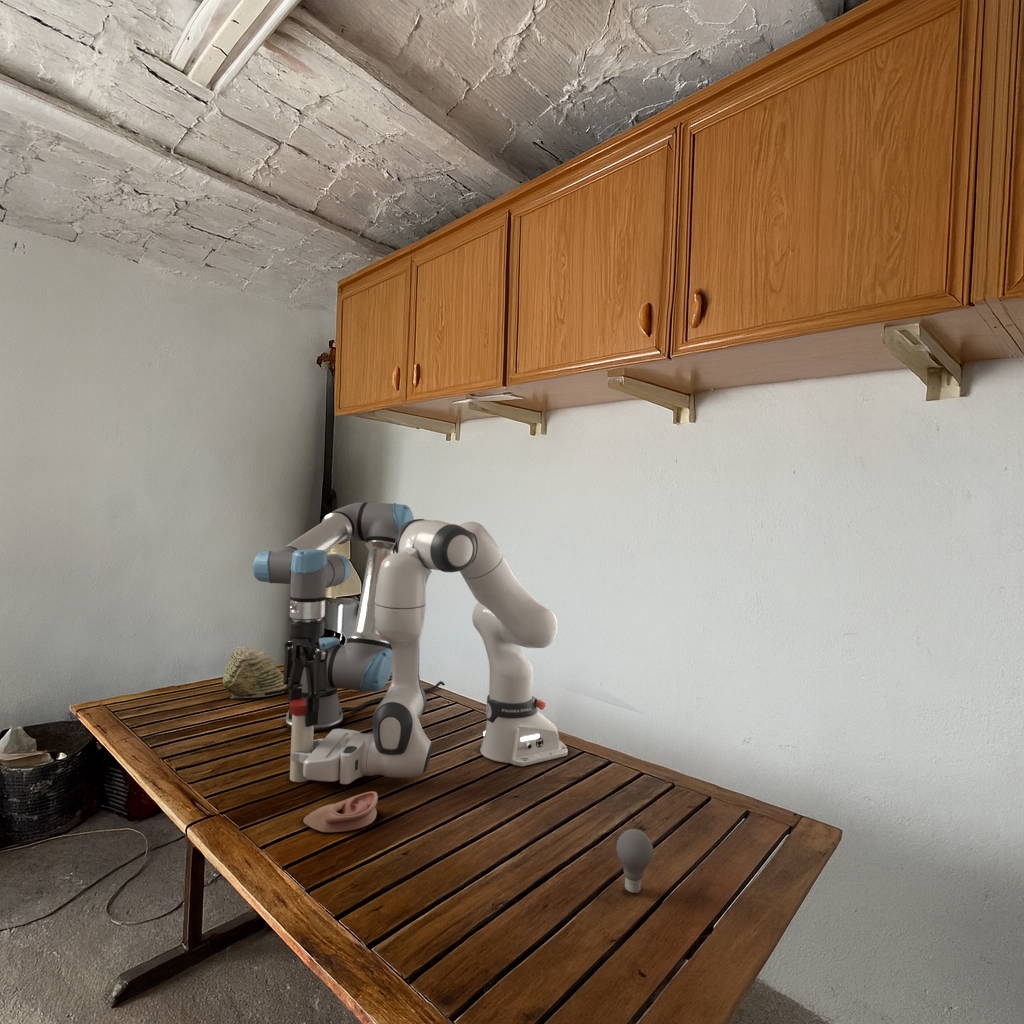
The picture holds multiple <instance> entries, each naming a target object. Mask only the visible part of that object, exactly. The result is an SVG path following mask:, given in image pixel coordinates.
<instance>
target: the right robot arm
mask: <svg viewBox="0 0 1024 1024" xmlns="http://www.w3.org/2000/svg"><path fill="white" fill-rule="evenodd" d="M395 552H396V553H395ZM432 570H435V571H440V572H443V573H457V572H460V574H461V576H462V579H463V580H464V581H465V583H466V585H467V587H468V589H469V591H470V592H471V594H472V595H473V597H474V599H475V600H476V601H477V603H476V604H475V606H474V607H473V611H472V616H471V619H472V624H473V627H474V628H475V630H476V631H477V633H478V634H479V635H480V637H481V639H482V642H483V644H484V645H483V646H484V648H485V652H486V655H487V660H488V670H489V672H488V673H489V675H488V676H489V679H488V680H489V681H488V682H489V683H488V694H487V697H486V705H485V714H486V724H485V730H484V731H483V739H482V742H481V746H480V748H479V752H480V754H481V755H482V756H483V757H485V758H486V759H489V760H490V761H491V760H492V761H494V762H499V763H505V764H511V765H514V766H517V767H526V766H530V765H534V764H539V763H542V762H547V761H551V760H555V759H559V758H563V757H567V756H568V754H569V753H568V751H569V750H568V747H567V745H566V744H565V743H564V742H563V741H561V739H560V735H559V730H558V727H556V725H555V724H554V723H553V721H551V720H550V719H549V718H548V717H547V716H545V715H544V714H543V713H541V712H540V711H539V710H545V708H546V702H545V701H544V700H542V699H538V698H537V697H535V696H533V686H534V685H533V682H534V668H533V666H532V663H531V661H530V660H529V659H528V658H527V657H526V654H525V653H524V651H523V648H526V649H544V648H547V647H549V646H550V645H552V643H553V642H554V640H555V638H556V637H557V633H558V629H559V627H558V619H557V616H556V615H555V613H554V611H552V610H550V609H549V608H548V607H546V606H545V605H543V604H542V603H541V602H539V601H538V600H537V599H536V598H535V597H534V596H533V595H532V594H531V593H530V591H528V589H527V588H526V587H525V586H524V585H523V584H522V583H521V582H520V581H519V579H518V578H517V577H516V576H515V574H514V573H513V570H512V569H511V567H510V565H509V564H508V561H507V560H506V558H505V556H504V553H503V552H502V550H501V549H500V547H499V545H498V544H497V542H496V541H495V539H494V538H493V536H492V535H491V534H490V533H489V531H488V530H487V529H486V527H485V526H483V525H482V524H481V523H479V522H477V521H467V522H463V523H461V524H459V525H458V524H454V523H453V524H452V523H449V522H446V521H442V520H435V519H434V520H433V519H431V520H430V519H424V518H415V519H414V520H411V521H408V522H406V523H405V524H404V525H403V526H402V527H401V528H400V530H399V531H398V533H397V536H396V539H395V544H394V546H393V554H391V555H389V556H387V557H386V558H385V559H384V560H383V561H382V563H381V566H380V570H379V574H378V579H377V585H376V594H375V622H376V628H377V632H378V634H379V635H380V636H381V637H382V638H383V639H384V640H386V641H388V642H389V645H390V646H391V650H392V673H391V682H390V684H389V687H388V689H387V690H386V693H385V694H384V696H383V697H384V698H383V700H381V701H379V704H378V705H377V707H376V708H375V710H374V712H373V714H372V720H371V728H372V733H366V732H365V733H362V732H360V731H358V730H355V729H354V730H353V729H346V728H333V729H331V731H330V732H329V733H328V734H327V735H326V736H325V738H316V739H314V740H313V752H312V753H307V754H305V753H302V751H295V752H294V753H293V754H292V761H297V762H301V763H303V776H304V777H305V778H307V779H309V780H308V781H316V782H329V783H330V782H337V781H339V784H341V785H349V784H352V782H354V781H355V780H357V779H361V778H363V777H373V776H384V777H387V778H394V779H408V778H409V779H410V778H418V777H420V776H423V774H425V773H426V771H427V769H428V767H429V762H430V760H431V756H432V752H433V742H432V741H431V739H429V738H428V736H427V735H426V733H425V731H424V729H423V727H422V724H421V721H420V719H421V718H422V716H423V715H424V713H425V711H426V709H427V696H426V692H424V687H423V685H422V682H421V677H420V643H421V638H422V634H423V630H424V624H425V619H426V618H425V617H426V611H427V609H426V608H427V607H426V606H427V589H426V588H427V584H428V580H429V577H430V576H431V574H432Z"/></svg>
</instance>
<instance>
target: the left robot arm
mask: <svg viewBox="0 0 1024 1024" xmlns="http://www.w3.org/2000/svg"><path fill="white" fill-rule="evenodd" d="M413 513H414V512H413V511H412V509H411V507H410V506H408V505H406V504H402V503H396V502H393V503H388V502H387V503H385V502H367V501H360V502H354V503H350V504H347V505H344V506H341V507H339V508H337V509H334V510H333V511H331V512H329V513H328V514H326V515H325V516H324V517H323V519H322V520H321V522H320V523H319V524H317V525H315V526H313V528H311V529H309V530H308V531H306V532H304V533H303V534H302V535H301V536H298V537H297V538H296V539H294V540H292V541H290V542H289V543H288V544H286V545H285V546H283V547H282V548H280V549H278V550H277V551H272V550H268V551H260V552H258V553H257V554H256V556H255V558H254V559H253V563H252V571H253V576H254V578H255V580H257V581H259V582H262V583H268V584H281V585H282V584H283V585H290V596H289V601H290V603H289V618H291V619H290V620H289V621H288V636H289V637H290V638H292V640H289V641H285V642H284V644H283V645H284V664H283V676H284V677H283V684H284V685H287V689H288V708H289V707H290V702H291V701H292V700H294V699H298V698H306V718H305V726H306V727H309V726H313V725H314V733H316V732H325V731H329V730H333V729H336V728H337V727H339V726H340V725H342V723H343V722H344V714H343V711H344V712H345V711H349V712H354V711H358V710H360V709H362V708H364V707H365V706H367V705H370V704H372V703H375V702H381V701H382V700H383V698H384V697H385V696H380V697H376V698H372V699H370V700H366V701H364V702H363V703H361V704H360V705H357V706H341V702H340V699H339V695H338V689H339V690H340V689H342V690H351V691H359V692H360V691H361V692H365V693H366V692H379V691H381V690H382V689H384V687H385V686H386V685H387V684H388V682H389V680H390V677H391V676H392V649H391V648H390V643H389V642H388V641H386V640H384V639H383V638H382V637H381V636H380V635H379V634H378V632H377V628H376V622H375V594H376V585H377V579H378V574H379V570H380V566H381V563H382V561H383V560H384V559H385V558H386V557H387V556H389V555H391V554H393V546H394V544H395V539H396V536H397V533H398V531H399V530H400V528H401V527H402V526H403V525H404V524H405V523H406V522H408V521H411V520H415V519H414V514H413ZM350 541H351V542H355V541H357V542H358V541H359V542H365V544H364V546H365V547H366V548H367V550H368V555H367V561H366V567H365V572H364V577H363V583H362V586H361V587H362V589H361V593H360V598H359V604H358V609H357V615H356V619H355V620H356V621H355V625H354V631H353V632H352V633H351V634H350V635H349V636H347V638H346V642H345V644H340V643H341V641H340V639H339V638H338V637H334V636H331V637H330V636H329V637H323V636H324V634H325V620H324V619H323V618H325V616H326V590H327V588H332V587H337V586H339V585H341V584H343V583H345V582H346V581H347V580H348V579H349V578H350V575H351V571H352V567H351V563H350V561H349V560H348V558H347V557H346V556H344V555H342V554H338V553H337V554H336V553H335V554H334V553H329V554H327V553H328V552H329V551H330V550H332V549H333V548H335V547H336V546H338V545H344V544H346V543H347V542H350ZM395 553H396V552H395ZM445 685H446V684H445V682H444V681H442V680H440V681H438V682H437V683H436V684H435V685H434V686H432V687H431V686H430V687H429V688H423V690H424V692H425V693H427V692H431V691H433V690H436V689H437V688H438V687H440V686H445ZM285 726H286V728H287V729H289V730H291V729H292V714H291V713H290V712H289V709H288V711H287V713H286V715H285Z"/></svg>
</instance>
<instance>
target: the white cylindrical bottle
mask: <svg viewBox="0 0 1024 1024" xmlns="http://www.w3.org/2000/svg"><path fill="white" fill-rule="evenodd" d="M305 718H306V715H302V716H300V715H293V714H292V729H290V730H291V733H290V756H289V757H290V759H289V780H290V781H291V782H293V783H305V782H308V781H310V780H309V779H307V778H305V777H304V776H303V763H301V762H297V761H292V754H293V753H294V752H295V751H302V753H305V754H307V753H312V752H313V751H314V749H313V740H315V739H314V736H315V732H314V725H313V726H309V727H306V726H305Z"/></svg>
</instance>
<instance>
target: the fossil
mask: <svg viewBox="0 0 1024 1024" xmlns="http://www.w3.org/2000/svg"><path fill="white" fill-rule="evenodd" d="M222 676H223V677H222V685H223V687H224V688H225V690H226V691H228V693H229V698H230V699H250V698H264V697H271V696H275V695H281V694H284V693H285V691H286V689H287V688H288V686H287V685H284V684H283V677H284V674H283V672H281V669H279V668H278V667H277V665H276V663H275V662H274V660H273V659H272V658H271V657H270V656H269V655H268V654H267V653H266V652H265V650H264V649H263V648H260V647H258V648H251V647H247V646H246V647H245V646H238V647H237V648H236V649H235V650H233V651H232V653H231V656H230V657H229V659H228V660H227V663H226V666H225V668H224V671H223V675H222Z"/></svg>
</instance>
